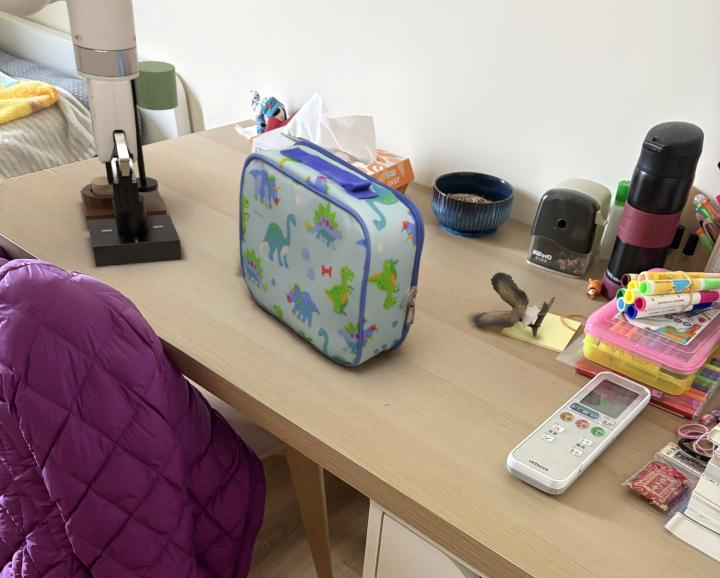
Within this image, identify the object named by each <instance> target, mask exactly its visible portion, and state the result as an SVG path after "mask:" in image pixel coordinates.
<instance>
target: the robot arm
mask: <svg viewBox="0 0 720 578" xmlns="http://www.w3.org/2000/svg"><path fill="white" fill-rule="evenodd" d="M62 1H64V2H66V9H67V15H68V22H69V28H70V29H69V30H70V35H71V41H72V47H73V54H74V61H75V68H76V74H78V75H79V76H81V77H82V78H85V79H86V81H85V82H86V91H87V100H88V107H89V115H90V122H91V129H92V139H93V144H94V148H95V152H96V155H97V160H98V161H99V162H100V163H101V164H102V165H105V172H106V176H107V180H108V183H109V184H110V185H112V186H113V193H114V201H115V208H116V211H117V212H118V213H123V212H139V211H140V201H139V192H138V182H137V181H136V178H137V176H136V171H135V166H134V164H135V163H136V162H137V141H136V128H135V116H134V107H133V97H132V88H131V80H132V79H135V78H137V77H138V76H139V65H138V62H139V55H138V47H137V35H136V25H135V15H134V5H133V4H134V3H133V0H0V10H1V11H3V12H4V13H7V14H9V15H13V16H16V17H29V16H33V15H35V14H36V13H38V12H40V11H42V10H43V9H44V8H46V7H47V6H49V5H51V4H54V3H57V2H62Z"/></svg>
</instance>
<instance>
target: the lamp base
mask: <svg viewBox="0 0 720 578" xmlns="http://www.w3.org/2000/svg"><path fill="white" fill-rule="evenodd" d="M79 191H80V195H81V196H80V197H81V200H82V207H83V211H84V215H85V221H86V222H87V220H96V219H111V218H115V214H114V208H113V202H112V198H113V197H114V193H113V194H110V195H97V194H94V193H93V192H92V186H91V183H89V184H86V185H85V186H83V188H81V189H80V190H79ZM139 194H140V195H142V196H143V197H144V199H145V206H146V214H147V216H153V215H167V214H168V211H167V208H166V206H165V204H164V201H163V198H162V195H161V193H160V191H159V188H158V189H157V190H155V191H152V192H145V193H142V192H139ZM86 225H87V227H88V224H87V223H86ZM87 230H88V231H89V229H88V228H87Z"/></svg>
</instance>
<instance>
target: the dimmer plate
mask: <svg viewBox="0 0 720 578" xmlns="http://www.w3.org/2000/svg"><path fill="white" fill-rule="evenodd" d="M147 222H148V231H147V232H145V233H144V234H141V235H134V236H130V235H123V234H121V233H119V232H118V231H117V227H116V220H115V218H111V219H96V220H87V221H86V225H87V224H88V226H87V230H88V229H89V230H88V234H89V239H90V243H91V249H92V253H93V257H94V262H95V267H107V266H117V265H128V264H129V265H130V264H141V263H153V262H161V261H173V260H174V261H175V260H182V258H183V256H182V247H181V246H182V245H181V239H180V236H179V234H178V232H177V231H178V230H177V229H176V227H175V224H174V221H173V219H172V217H171V215H170V213H169V214H168V213H167V215H153V216H147Z"/></svg>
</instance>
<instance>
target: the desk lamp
mask: <svg viewBox="0 0 720 578" xmlns="http://www.w3.org/2000/svg"><path fill="white" fill-rule="evenodd" d="M138 65H139V76H138V77H137V78H135V79H132V80H131V88H132V97H133V107H134V116H135V128H136V141H137V161H136V162H137V170H138V177H136V181H137V182H138V192H142V193H145V192H152V191H155V190H157V189H158V190H159V182H158V180H157V179H155V178H153V177H149V176H147V174H146V168H145V160H144V159H145V158H144V152H143V151H144V150H143V144H142V143H143V142H142V136H141V126H140V119H139V111H138V107H139V108H141V109H143V110H149V111H168V110H173V109H176V108H177V107H178V106H179V99H178V98H179V97H178V87H177V86H178V85H177V77H176V76H177V75H176V67H175V65H174V64H172V63H169V62H166V61H159V60H145V61H144V60H143V61H138Z"/></svg>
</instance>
